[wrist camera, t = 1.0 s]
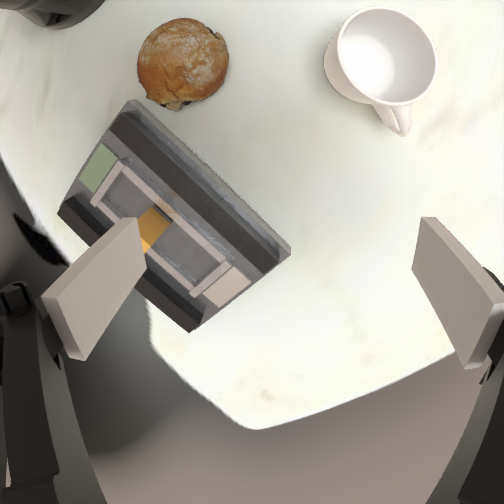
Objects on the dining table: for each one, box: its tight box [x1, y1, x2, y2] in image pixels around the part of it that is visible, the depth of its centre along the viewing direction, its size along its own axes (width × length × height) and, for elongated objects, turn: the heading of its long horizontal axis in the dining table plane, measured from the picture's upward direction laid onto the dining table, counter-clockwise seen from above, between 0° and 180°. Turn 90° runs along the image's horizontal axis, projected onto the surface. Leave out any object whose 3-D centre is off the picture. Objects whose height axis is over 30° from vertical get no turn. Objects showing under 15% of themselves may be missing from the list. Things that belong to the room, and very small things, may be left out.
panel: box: [57, 100, 291, 333], centre depth 38 cm, size 26×18×4 cm
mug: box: [324, 6, 438, 137], centre depth 25 cm, size 9×12×11 cm
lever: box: [137, 203, 173, 254], centre depth 34 cm, size 3×4×7 cm
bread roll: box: [137, 18, 229, 111], centre depth 29 cm, size 10×10×8 cm
